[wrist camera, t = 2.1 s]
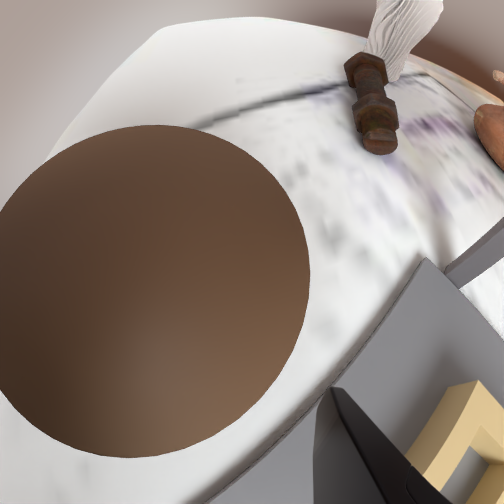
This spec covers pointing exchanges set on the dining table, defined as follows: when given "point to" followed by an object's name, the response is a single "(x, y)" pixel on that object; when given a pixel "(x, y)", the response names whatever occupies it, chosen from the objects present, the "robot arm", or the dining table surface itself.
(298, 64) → the dining table surface
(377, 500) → the robot arm
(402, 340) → the socket stand
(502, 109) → the ceramic jug
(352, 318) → the dining table surface
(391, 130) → the bolt
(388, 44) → the shell sculpture
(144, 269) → the walnut peg
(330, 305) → the dining table surface
